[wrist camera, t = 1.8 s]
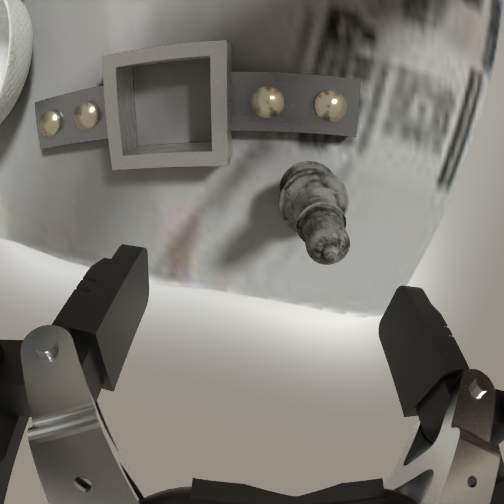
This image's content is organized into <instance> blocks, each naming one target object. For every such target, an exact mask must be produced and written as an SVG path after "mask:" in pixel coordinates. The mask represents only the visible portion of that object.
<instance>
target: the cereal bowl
mask: <svg viewBox="0 0 504 504" xmlns="http://www.w3.org/2000/svg"><path fill="white" fill-rule="evenodd" d="M32 46H33V29H32V24H31V20H30V16H29V13H28V11H27V9H26V7H25V5H24V3H23V2H22V1H21V0H0V124H1V123H2V121H3V120H4V119H5V118H6V117H7V115H8V114H9V113H10V111H11V109H12V108H13V107H14V104H15V103H16V101H17V100H18V97H19V95H20V94H21V91H22V88H23V86H24V84H25V81H26V78H27V75H28V72H29V68H30V62H31V57H32V49H33V47H32Z"/></svg>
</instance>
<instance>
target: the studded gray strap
mask: <svg viewBox="0 0 504 504" xmlns="http://www.w3.org/2000/svg"><path fill="white" fill-rule="evenodd" d="M198 59H210V84H211V132H212V142H206V143H177V144H159V145H145V146H138V142H137V131H136V119H135V105H134V88H133V67H137V66H144V65H150V64H158V63H166V62H175V61H186V60H198ZM102 60H103V84H104V85H103V86H98V87H94V88H89V89H84V90H80V91H76V92H72V93H68V94H64V95H60V96H56V97H53V98H49V99H45V100H42V101H39V102H35V109H36V118H37V126H38V134H39V140H40V147H41V149H44V148H49V147H55V146H60V145H66V144H72V143H79V142H85V141H92V140H100V139H108V141H109V149H110V157H111V164H112V170H124V169H140V168H160V167H190V166H228V164H229V162H230V159H231V157H232V131H278V132H300V133H316V134H329V135H340V136H350V137H356V134H357V123H358V111H359V98H360V82H361V80H356V79H349V78H341V77H333V76H323V75H313V74H299V73H282V72H232V45H231V44H230V43H229V42H228V41H227V40H219V41H202V42H190V43H180V44H171V45H163V46H156V47H149V48H143V49H137V50H131V51H126V52H121V53H116V54H111V55H107V56H102Z"/></svg>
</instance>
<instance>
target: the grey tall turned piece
mask: <svg viewBox="0 0 504 504" xmlns="http://www.w3.org/2000/svg"><path fill="white" fill-rule="evenodd" d="M280 191H281V193H280V196H279V210H280V214H281V216H282V218H283V220H284V222H285V223H286V224H287V225H288V226H289V227H290V228H292V229H293V230H295V231H297V232H298V234H299V236H300V238H301V239H302V240H303V241H304V242H305V244H306V249H307V252H308V254H309V256H310V257H311V258H312V259H313V260H314V261H315V262H317V263H320V264H327V265H329V264H334V263H337V262H339V261H340V260H342V259H343V258H344V257H345V256H346V255H347V253H348V251H349V248H350V239H349V236H348V234H347V232H346V230H345V227H346V218H345V214H346V212H347V209H348V203H349V200H348V193H347V190H346V188H345V186H344V184H343V183H342V182H341V180H340V179H339V178H338V177H336V176H335V175H333V173H332V172H331V171H330V170H329V169H328V168H327V167H326V166H324V165H323V164H320V163H317V162H312V161H306V162H300V163H298V164H296V165H294V166H292V167H291V168H290V169H289V170H288V171H287V172H286V173H285V175H284V176H283V179H282V181H281V187H280Z"/></svg>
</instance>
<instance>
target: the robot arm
mask: <svg viewBox="0 0 504 504" xmlns="http://www.w3.org/2000/svg"><path fill="white" fill-rule="evenodd" d="M148 296H149V278H148V254H147V249H146V248H143V247H137V246H130V245H124V244H122V245H121V246H120V247H119V248H118V250H117V251H116V253H115V254H114V256H113V257H112V259H108V258H103V259H102V260H100V261H99V262H97V263H96V264H94V265H93V266H91V267H90V269H89V270H88V272H87V273H86V275H85V276H84V277H83V280H81V281H80V283H79V284H78V286H77V289H76V290H74V292H73V293H72V295H71V296H70V297H69V299H68V301H67V302H66V303H65V305H64V307H63V308H62V310H61V311H60V313H59V314H58V316H57V317H56V319H55V320H54V322H53V324H52V325H46V326H41V327H38V328H36V329H34V330H33V331H31V332H30V333H29V334H28V335H27V336H26V337H25V339H24V340H0V504H4V500H5V495H6V491H7V487H8V483H9V479H10V476H11V472H12V468H13V465H14V462H15V458H16V455H17V452H18V448H19V445H20V442H21V439H22V436H23V433H24V430H25V428H26V425H27V422H28V419H29V417H32V422H33V427H31V428H29V429H28V441H29V445H30V449H31V453H32V456H33V459H34V463H35V466H36V469H37V472H38V475H39V478H40V481H41V484H42V487H43V489H44V492H45V494H46V497H47V500H48V503H49V504H504V463H503V460H502V456H501V452H500V449H499V446H498V444H500V443H501V442H502V441H503V440H504V391H501V390H497V389H495V387H494V385H493V383H492V382H491V380H490V379H489V377H488V376H487V375H485V374H484V373H483V372H481V371H479V370H476V369H469V367H468V365H467V363H466V360H465V358H464V356H463V354H462V352H461V351H460V349H459V346H458V345H457V343H456V341H455V339H454V337H452V333H451V331H450V330H449V328H447V324H446V322H445V320H444V319H443V317H442V315H441V314H440V313H439V312H438V311H437V310H436V309H435V307H433V305H432V304H431V303H430V301H429V299H428V297H427V296H426V294H425V292H424V291H423V289H421V288H417V287H409V286H400V287H399V288H398V289H397V290H396V292H395V294H394V296H393V298H392V300H391V302H390V304H389V306H388V307H387V309H386V311H385V313H384V315H383V317H382V319H381V321H380V325H379V338H380V341H381V344H382V347H383V349H384V352H385V355H386V358H387V361H388V364H389V367H390V371H391V374H392V377H393V380H394V383H395V387H396V390H397V393H398V397H399V400H400V403H401V407H402V410H403V414H404V417H409V416H419V421H418V422H417V423H416V424H415V425H414V427H413V429H412V432H411V434H410V437H409V439H408V441H407V444H406V446H405V448H404V450H403V453H402V455H401V457H400V459H399V461H398V463H397V465H396V467H395V469H394V471H393V472H392V473H391V475H390V476H389V477H388V478H387V479H386V480H385V481H384V482H383V480H382V478H381V479H374V480H367V481H359V482H349V483H341V484H338V485H335V486H332V487H329V488H326V489H323V490H319V491H316V492H312V493H309V494H305V495H302V496H288V495H284V494H279V493H275V492H271V491H267V490H263V489H260V488H256V487H252V486H249V485H246V484H237V483H226V482H217V481H209V480H202V479H195V478H193V481H192V487H180V488H174V489H168V490H165V491H161V492H158V493H155V494H153V495H150V496H148V497H146V498H145V497H144V495H143V493H142V492H141V490H140V488H139V486H138V485H137V483H136V481H135V479H134V478H133V476H132V474H131V472H130V470H129V469H128V467H127V465H126V463H125V461H124V459H123V458H122V456H121V454H120V452H119V449H118V448H117V446H116V443H115V441H114V439H113V437H112V435H111V432H110V430H109V428H108V425H107V423H106V421H105V418H104V416H103V414H102V411H101V408H100V406H99V403H98V401H97V398H98V396H99V393H100V391H101V388H103V389H106V390H110V391H114V389H115V386H116V383H117V380H118V378H119V375H120V372H121V370H122V367H123V364H124V362H125V359H126V356H127V353H128V351H129V349H130V346H131V343H132V341H133V338H134V336H135V333H136V331H137V328H138V326H139V323H140V321H141V318H142V316H143V314H144V311H145V309H146V306H147V302H148Z"/></svg>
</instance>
